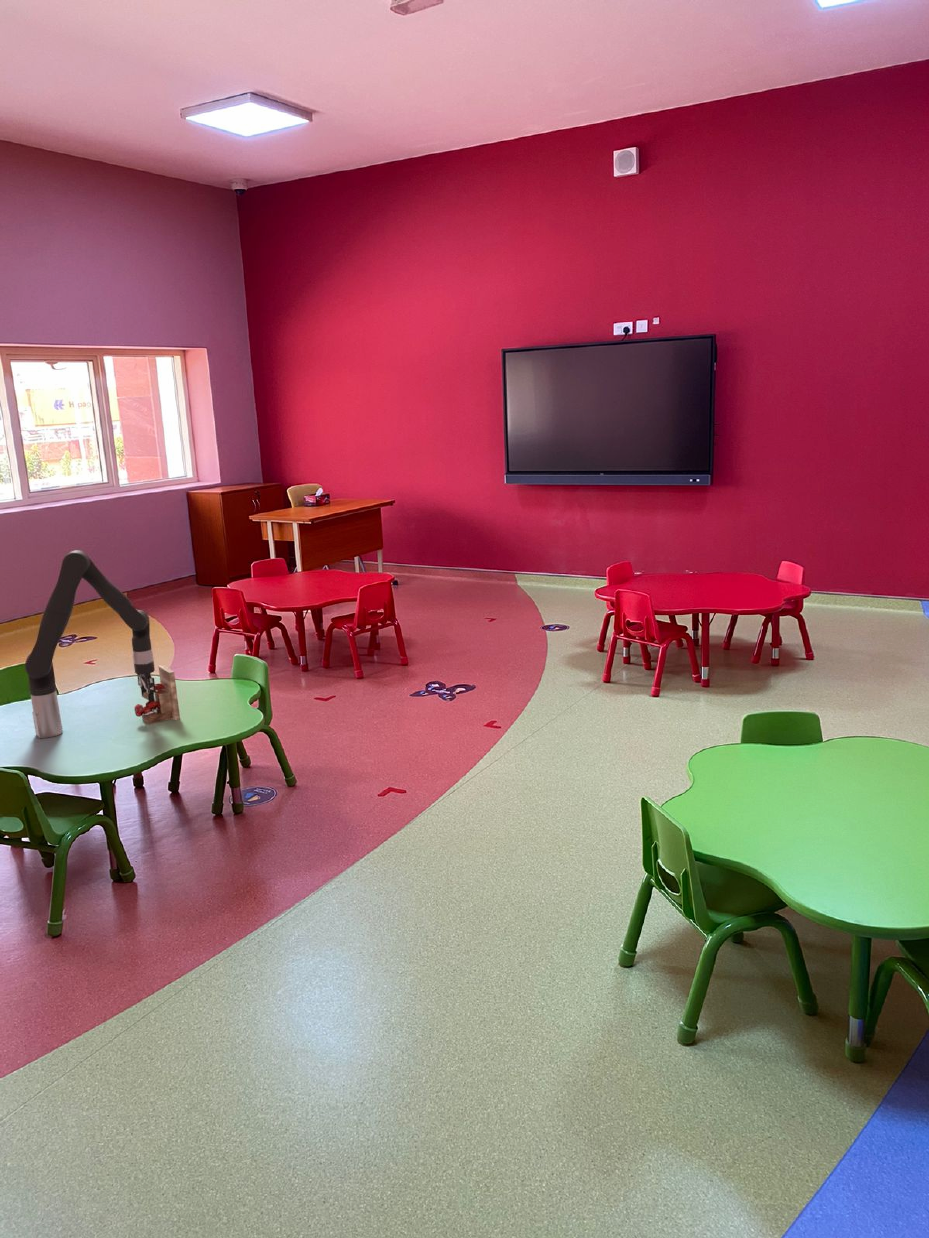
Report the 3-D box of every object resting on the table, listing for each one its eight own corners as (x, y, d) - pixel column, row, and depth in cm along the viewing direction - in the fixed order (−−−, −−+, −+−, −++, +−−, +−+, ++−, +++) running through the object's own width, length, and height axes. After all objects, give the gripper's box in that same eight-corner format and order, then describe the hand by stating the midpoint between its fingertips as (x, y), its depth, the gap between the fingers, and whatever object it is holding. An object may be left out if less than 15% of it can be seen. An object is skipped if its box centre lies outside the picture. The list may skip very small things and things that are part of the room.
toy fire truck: (134, 716, 366) (128, 694, 363) (165, 703, 376) (159, 681, 373) (139, 718, 364) (133, 695, 361) (169, 704, 373) (163, 683, 370)
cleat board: (150, 726, 364) (144, 678, 359) (140, 717, 374) (133, 671, 369) (180, 719, 370) (174, 671, 366) (169, 710, 381) (163, 664, 376)
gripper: (128, 658, 367) (133, 697, 371) (139, 666, 356) (144, 705, 360) (147, 655, 372) (151, 693, 376) (159, 662, 360) (163, 701, 364)
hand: (148, 699), depth 368 cm, fingers open, 8 cm apart
